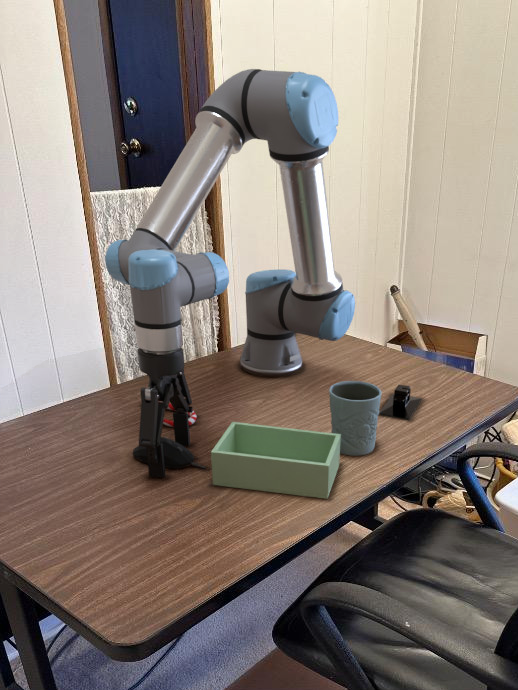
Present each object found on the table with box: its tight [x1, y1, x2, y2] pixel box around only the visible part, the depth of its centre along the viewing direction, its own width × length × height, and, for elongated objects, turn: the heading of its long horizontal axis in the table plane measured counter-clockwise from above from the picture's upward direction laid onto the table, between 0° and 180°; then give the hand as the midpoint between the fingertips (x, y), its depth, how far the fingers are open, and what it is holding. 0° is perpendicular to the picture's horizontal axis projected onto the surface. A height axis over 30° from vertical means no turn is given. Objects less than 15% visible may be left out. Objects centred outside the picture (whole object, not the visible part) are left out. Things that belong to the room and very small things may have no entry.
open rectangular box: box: [210, 421, 341, 500], centre depth 125 cm, size 13×21×7 cm, turn 83°
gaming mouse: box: [132, 436, 207, 470], centre depth 127 cm, size 6×15×4 cm, turn 71°
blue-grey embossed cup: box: [328, 380, 383, 457], centre depth 136 cm, size 10×10×12 cm
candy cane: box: [163, 402, 198, 428], centre depth 144 cm, size 8×1×15 cm
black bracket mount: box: [378, 384, 423, 421], centre depth 156 cm, size 12×7×5 cm, turn 164°
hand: (170, 459), depth 128 cm, fingers open, 12 cm apart
